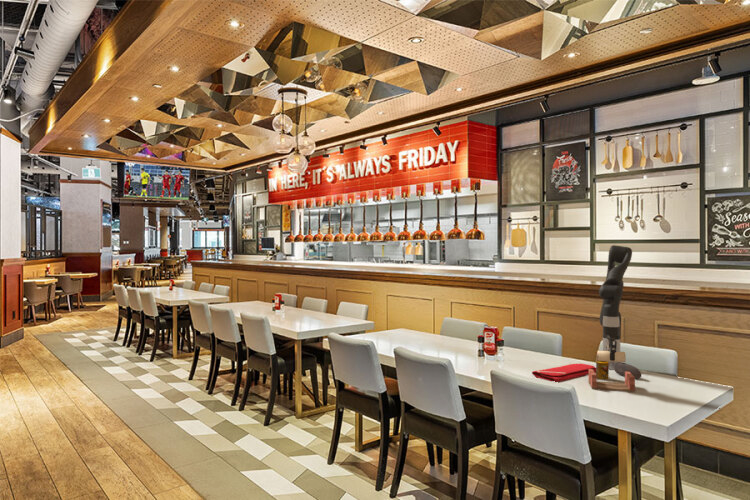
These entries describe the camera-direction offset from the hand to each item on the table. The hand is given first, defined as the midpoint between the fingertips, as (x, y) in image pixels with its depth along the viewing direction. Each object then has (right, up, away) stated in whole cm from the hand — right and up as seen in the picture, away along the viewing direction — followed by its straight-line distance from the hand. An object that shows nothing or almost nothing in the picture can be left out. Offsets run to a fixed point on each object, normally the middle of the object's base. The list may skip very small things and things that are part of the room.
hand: (611, 359), depth 238 cm
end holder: (0, -14, 0) cm, 14 cm away
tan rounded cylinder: (0, -1, 0) cm, 1 cm away
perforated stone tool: (+19, -14, +19) cm, 31 cm away
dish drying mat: (-12, -15, +26) cm, 32 cm away
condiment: (+3, -14, +17) cm, 22 cm away
